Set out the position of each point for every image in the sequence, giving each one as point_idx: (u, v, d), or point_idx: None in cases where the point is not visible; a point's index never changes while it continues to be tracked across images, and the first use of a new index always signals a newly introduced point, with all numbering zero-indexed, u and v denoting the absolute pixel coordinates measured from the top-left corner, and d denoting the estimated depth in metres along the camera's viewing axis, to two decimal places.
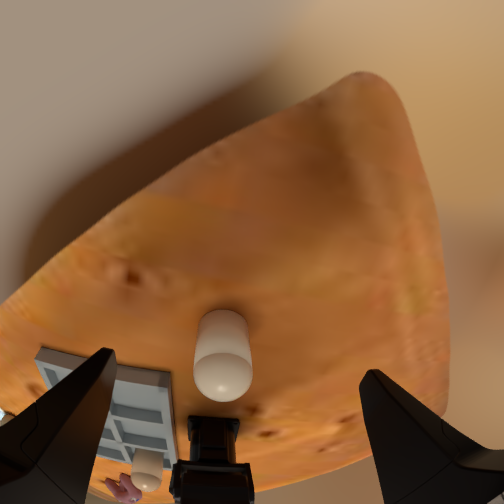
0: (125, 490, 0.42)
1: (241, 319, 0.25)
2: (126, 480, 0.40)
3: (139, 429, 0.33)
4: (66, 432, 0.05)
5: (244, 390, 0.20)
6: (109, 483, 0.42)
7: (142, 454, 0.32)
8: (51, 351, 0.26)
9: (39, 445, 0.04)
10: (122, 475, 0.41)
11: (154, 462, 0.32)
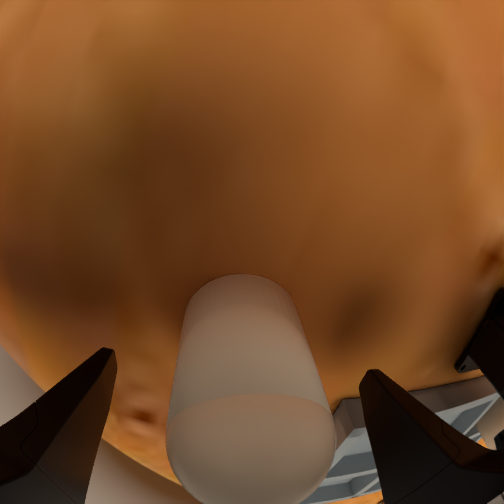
0: None
1: (199, 294, 0.10)
2: None
3: (446, 420, 0.18)
4: (66, 432, 0.05)
5: (271, 471, 0.05)
6: None
7: (482, 427, 0.17)
8: None
9: (39, 445, 0.04)
10: None
11: (499, 418, 0.15)
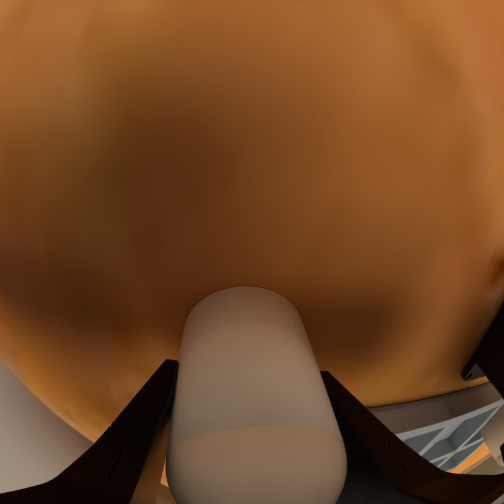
0: None
1: (199, 308, 0.10)
2: None
3: (450, 426, 0.17)
4: (151, 454, 0.05)
5: None
6: None
7: (486, 433, 0.16)
8: None
9: (130, 474, 0.04)
10: None
11: (503, 425, 0.14)
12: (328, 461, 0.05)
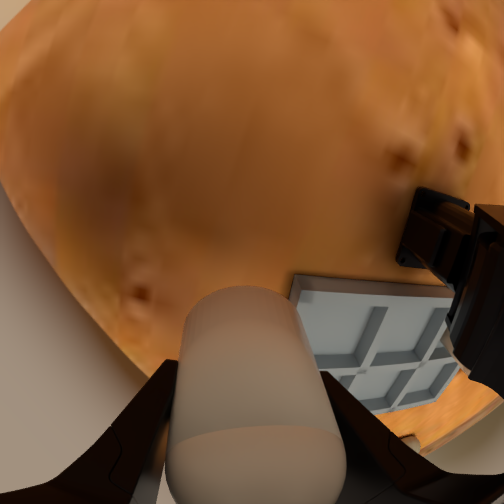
0: None
1: (199, 308, 0.10)
2: None
3: (409, 331, 0.25)
4: (151, 454, 0.05)
5: None
6: None
7: (448, 343, 0.23)
8: None
9: (130, 474, 0.04)
10: None
11: None
12: (327, 461, 0.05)
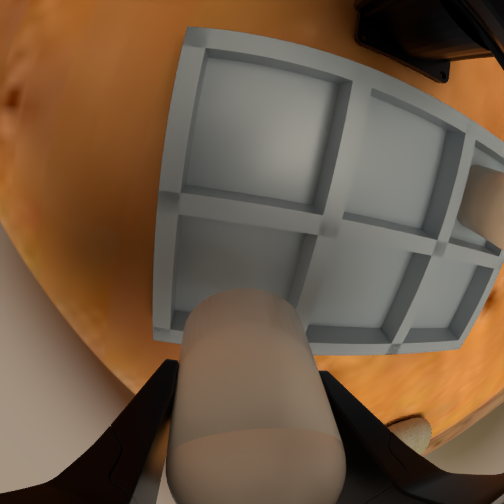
0: None
1: (199, 310, 0.10)
2: None
3: (408, 182, 0.15)
4: (151, 454, 0.05)
5: None
6: None
7: (477, 208, 0.13)
8: None
9: (130, 474, 0.04)
10: None
11: (496, 183, 0.12)
12: (327, 463, 0.05)
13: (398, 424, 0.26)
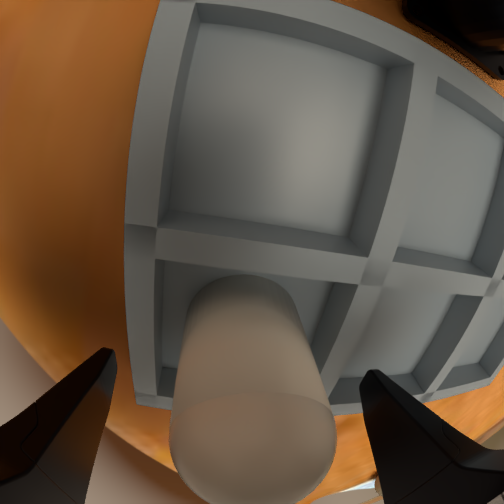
0: None
1: (201, 295, 0.11)
2: None
3: (464, 204, 0.10)
4: (66, 432, 0.05)
5: (273, 468, 0.05)
6: None
7: None
8: None
9: (39, 445, 0.04)
10: None
11: None
12: (318, 427, 0.06)
13: None
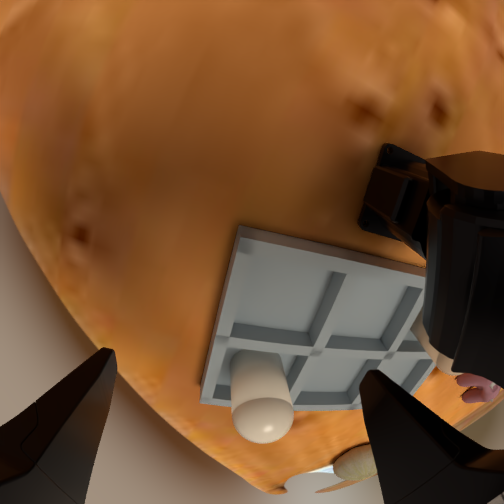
0: None
1: (240, 354, 0.23)
2: (466, 378, 0.29)
3: (375, 314, 0.23)
4: (66, 432, 0.05)
5: (272, 421, 0.17)
6: (467, 397, 0.33)
7: (420, 333, 0.22)
8: (202, 376, 0.25)
9: (39, 445, 0.04)
10: (458, 379, 0.31)
11: None
12: (286, 409, 0.18)
13: (360, 447, 0.34)
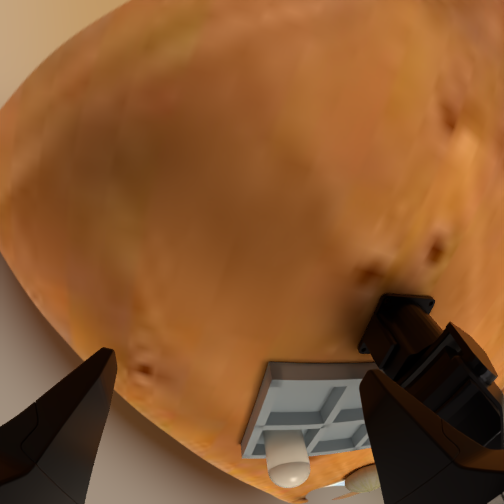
0: None
1: None
2: None
3: None
4: (66, 432, 0.05)
5: (295, 476, 0.23)
6: None
7: None
8: (243, 440, 0.30)
9: (39, 445, 0.04)
10: None
11: None
12: (305, 468, 0.24)
13: (366, 468, 0.39)
